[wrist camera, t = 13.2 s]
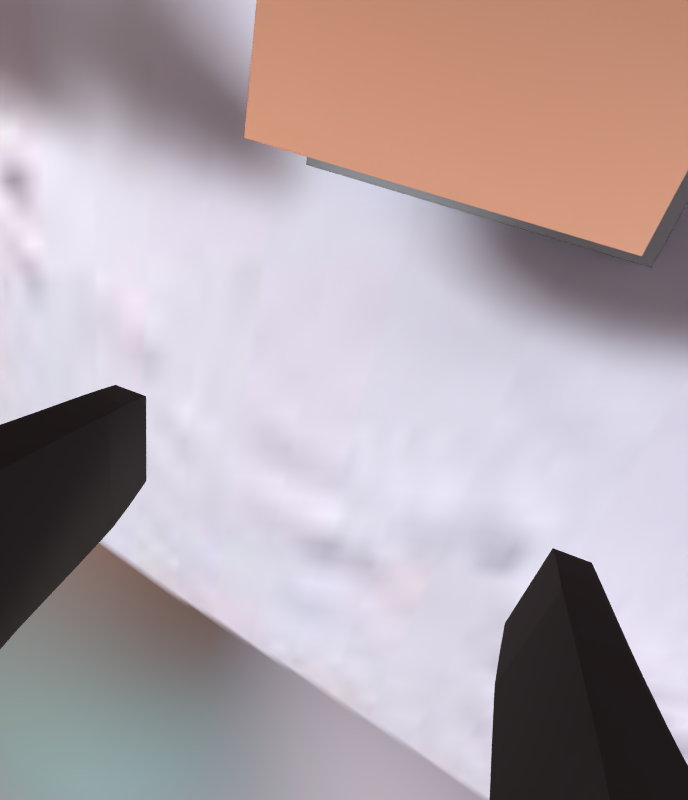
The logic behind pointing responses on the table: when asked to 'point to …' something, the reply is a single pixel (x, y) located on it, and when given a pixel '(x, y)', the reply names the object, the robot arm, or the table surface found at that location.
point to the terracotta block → (487, 102)
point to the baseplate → (668, 221)
